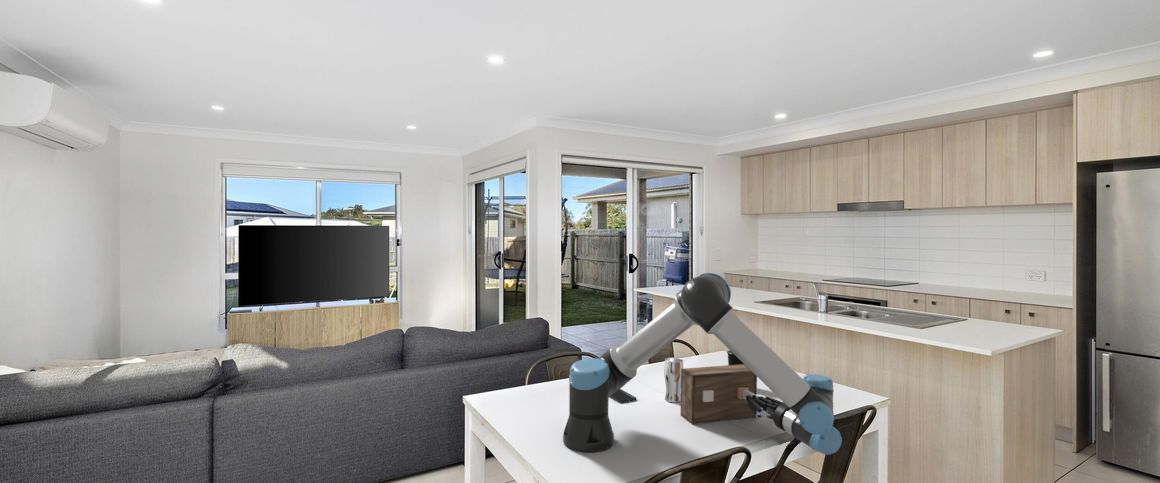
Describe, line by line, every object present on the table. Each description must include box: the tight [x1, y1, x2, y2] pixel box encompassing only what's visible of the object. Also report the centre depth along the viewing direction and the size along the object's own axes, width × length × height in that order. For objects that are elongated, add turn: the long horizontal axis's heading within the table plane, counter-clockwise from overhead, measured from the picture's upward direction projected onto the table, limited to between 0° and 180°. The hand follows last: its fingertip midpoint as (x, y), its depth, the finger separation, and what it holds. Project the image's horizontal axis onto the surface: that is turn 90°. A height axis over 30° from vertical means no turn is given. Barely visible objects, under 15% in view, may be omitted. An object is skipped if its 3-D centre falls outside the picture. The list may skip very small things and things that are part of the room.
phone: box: [609, 388, 637, 404], centre depth 193 cm, size 8×1×15 cm
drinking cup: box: [726, 349, 745, 365], centre depth 205 cm, size 8×8×20 cm
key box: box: [680, 364, 758, 425], centre depth 173 cm, size 8×24×16 cm, turn 106°
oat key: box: [702, 389, 714, 402], centre depth 169 cm, size 6×4×4 cm, turn 16°
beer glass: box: [663, 357, 684, 404], centre depth 188 cm, size 7×7×15 cm
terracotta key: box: [737, 386, 749, 399], centre depth 172 cm, size 6×4×4 cm, turn 16°
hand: (744, 393), depth 169 cm, fingers closed
